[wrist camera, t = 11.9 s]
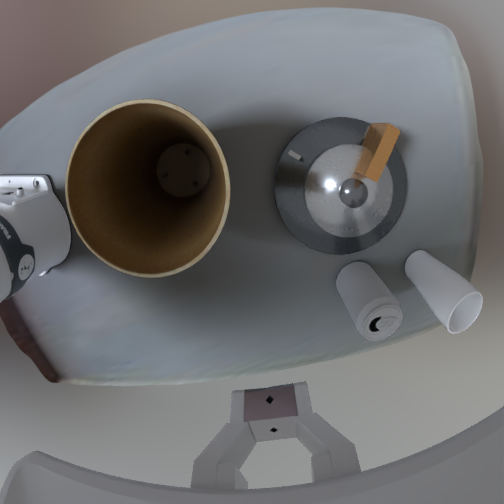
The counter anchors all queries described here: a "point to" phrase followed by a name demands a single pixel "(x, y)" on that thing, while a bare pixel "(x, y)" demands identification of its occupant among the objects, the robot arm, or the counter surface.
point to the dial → (352, 183)
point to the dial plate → (292, 177)
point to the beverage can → (368, 301)
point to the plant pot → (148, 188)
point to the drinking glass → (444, 291)
